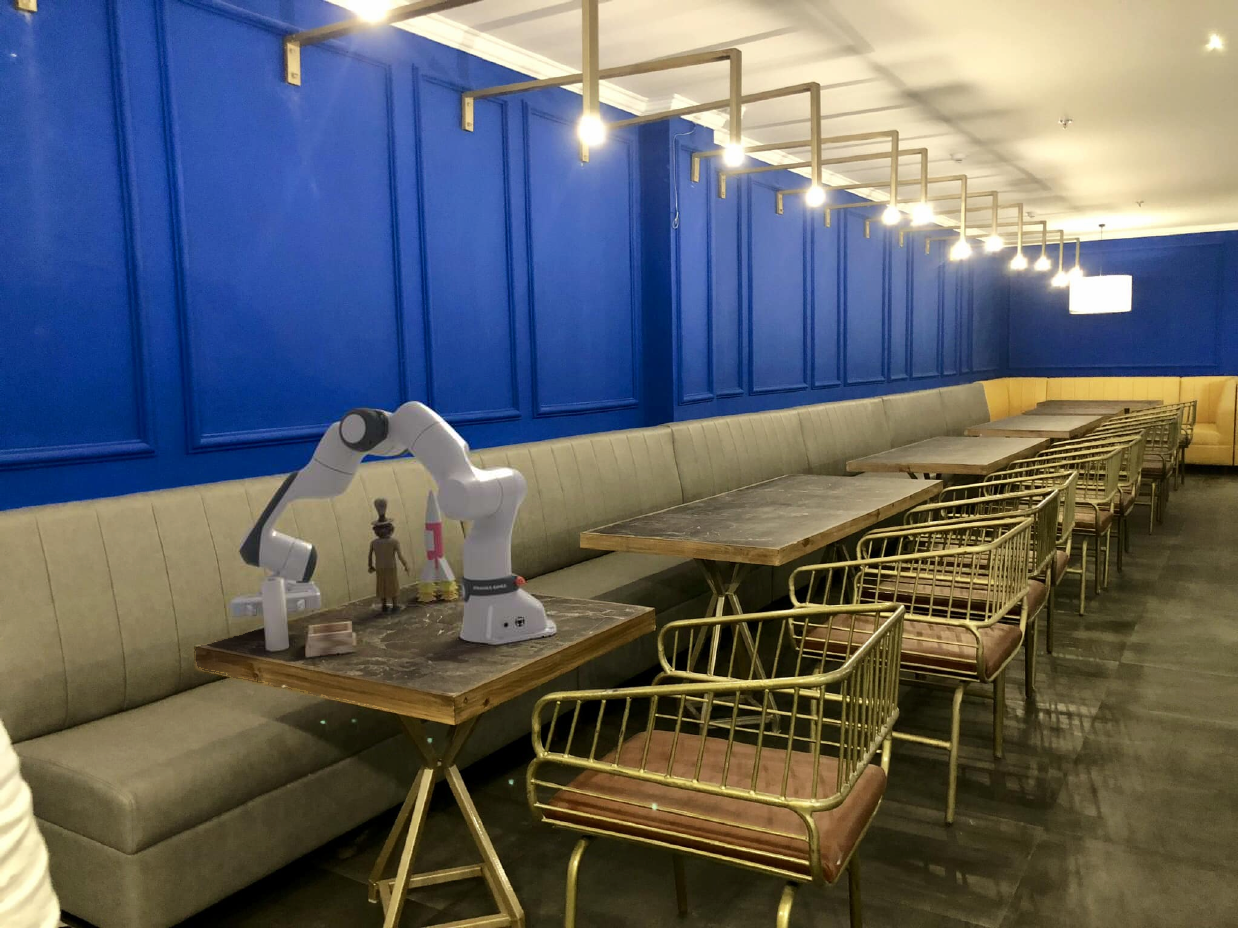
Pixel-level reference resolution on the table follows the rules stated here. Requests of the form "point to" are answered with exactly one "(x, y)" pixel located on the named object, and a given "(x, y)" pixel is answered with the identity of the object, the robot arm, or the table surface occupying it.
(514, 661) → the table surface
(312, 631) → the holder
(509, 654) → the table surface
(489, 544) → the robot arm
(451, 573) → the toy rocket
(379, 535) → the figurine
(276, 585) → the roll
